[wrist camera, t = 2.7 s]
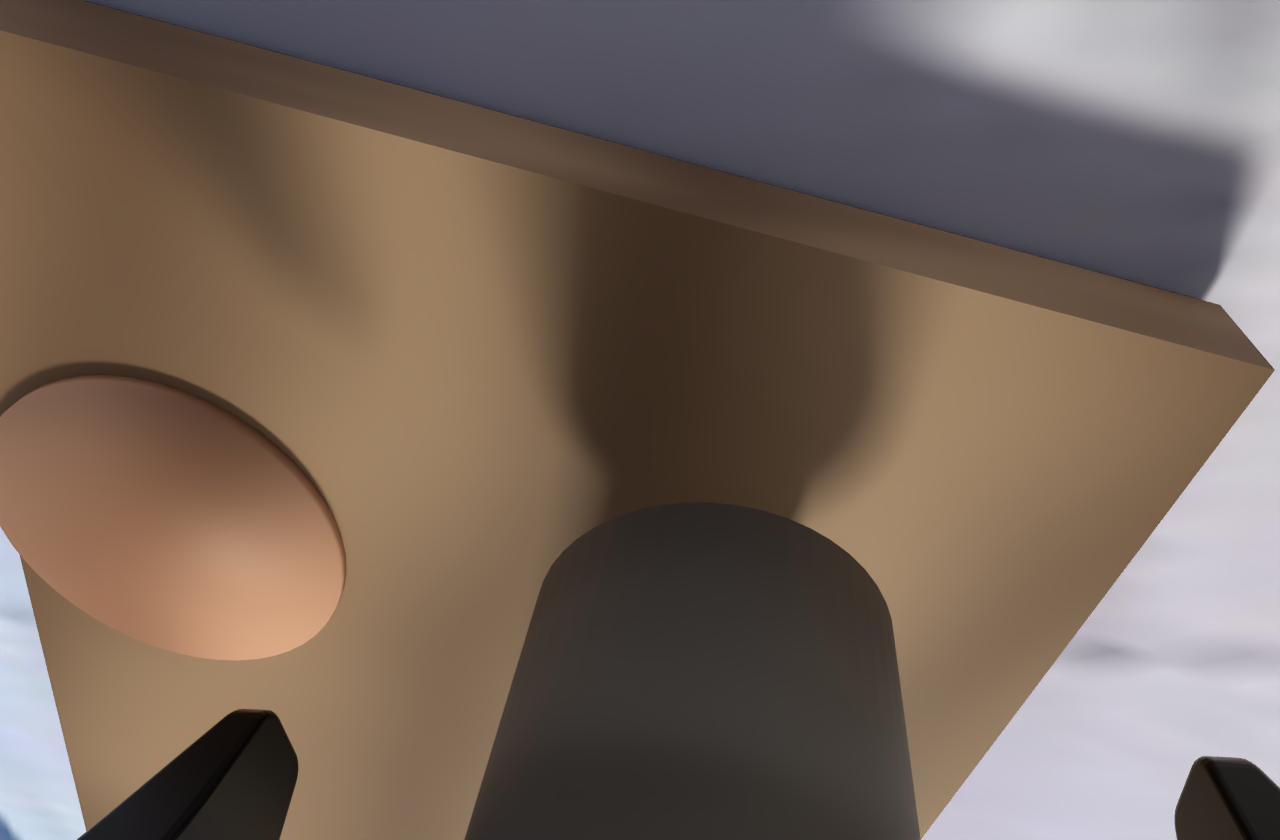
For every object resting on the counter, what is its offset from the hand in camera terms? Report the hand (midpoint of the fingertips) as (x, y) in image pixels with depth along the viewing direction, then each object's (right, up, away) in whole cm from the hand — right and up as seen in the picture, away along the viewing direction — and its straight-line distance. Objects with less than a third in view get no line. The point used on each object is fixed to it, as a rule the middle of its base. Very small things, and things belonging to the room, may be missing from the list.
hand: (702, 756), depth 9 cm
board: (-3, -1, +7) cm, 8 cm away
